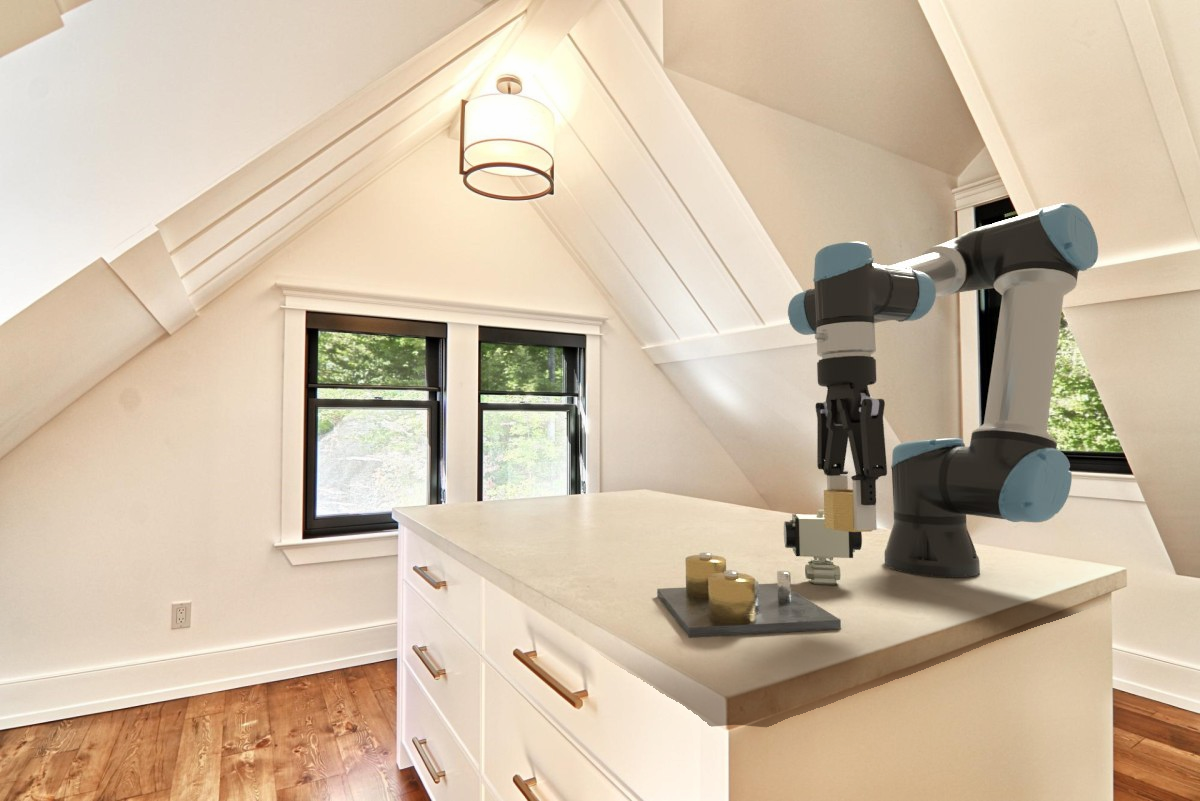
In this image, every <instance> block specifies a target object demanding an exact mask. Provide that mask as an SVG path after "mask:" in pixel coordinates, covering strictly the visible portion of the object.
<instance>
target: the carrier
mask: <svg viewBox="0 0 1200 801" xmlns="http://www.w3.org/2000/svg"><path fill="white" fill-rule="evenodd" d="M776 573H777V575H776V577H777V578H776V579H777V583H775V582H774V583H759V580H757V579H755V577H754V576H752V575H750V574H746V573H741V572H740V573H739V571H738V570H732V569H729V570H728V569H727V559H726V558H725V557H723V556H719V555H714V554H712V553H710V552H700V553H699V554H695V555H689V556H687V557H685V587H669V588H668V587H665V588H657V591H656V594H657V598H658V600H659V601H660V602H661V603H662V604H663V606H664V607H665V608H666V610H667V611H668V613H669V614H670V615H671V616H672V618H673V619H674V620H675V621H676V622H677V624H678V625H679V626H680V628H681V629H682V630H683V632H684V633H685V634H686V636H688V638H691V639H692V638H704V637H705V638H706V637H707V638H708V637H721V636H722V637H725V636H741V635H742V636H744V635H760V634H778V633H779V634H780V632H781V633H796V632H798V633H799V632H815V631H829V630H830V631H831V630H835V631H836V630H842V625H841V624H842V623H841V622H842V621H841V619H840V618H838V617H837V616H835V615H834V614H832V613H830V612H829V611H827V610H825V609H824V608H822V607H821V606H819V605H818V604H816V603H814V602H813V601H811V600H809V599H808V598H806V597H804V596H803V595H802V594H799V593H797V592H796V591H794V590H793V589H792V584H791V583H792V582H791V572H790V571H788V570H778V571H777V572H776Z"/></svg>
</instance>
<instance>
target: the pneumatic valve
mask: <svg viewBox="0 0 1200 801" xmlns="http://www.w3.org/2000/svg"><path fill="white" fill-rule="evenodd" d="M783 522H784V523H783V540H784V547H785V548H786V549H792V552H793V554H794V555H795V557H803V558H806V557H807V558H808V557H809V558H812V557H813V559H811V560H808V561H807V563H806V564H805V567H804V573H805V578H806V579H807V580H810V583H811V584H813V585H818V586H835V585H837V581H840V580H841V568H840V566H839V565H836V564H835V563H834V558H837V559H839V558H840V559H844V558H845V559H854V553H855V552H856V551H861V549H862V545H863V544H862V543H863V536H862V535H863V534H862V532H849V531H839V530H832V529H829V528H826V527H825V525H824V509H818V510H817V514H798V513H797V514H796V513H794V514H793V513H792V514H791V519H790V520H789V521H785V520H784V521H783ZM827 559H828V560H827Z"/></svg>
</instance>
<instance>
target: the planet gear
mask: <svg viewBox="0 0 1200 801" xmlns="http://www.w3.org/2000/svg"><path fill="white" fill-rule="evenodd" d="M823 510H824V525H825V527H826V528H829V529H832V530H839V531H849V532H861V533H862V532H863V533H864V532H865V533H866V532H872V531H874V530H861V531H857V530H854V510H853V488H848V489H827V488H826V489H824V490H823Z"/></svg>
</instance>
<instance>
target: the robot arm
mask: <svg viewBox="0 0 1200 801" xmlns="http://www.w3.org/2000/svg"><path fill="white" fill-rule="evenodd" d="M1098 256H1099V247H1098V239H1097V235H1096V232H1095V229H1094V228H1093V225H1092V223H1091V221H1090V219H1089V217H1088V216H1087V215H1086V214H1085V212H1084V211H1083V210H1082V209H1080V207H1078V206H1077V205H1075V204H1072V203H1060V204H1056V205H1052V206H1049V207H1041V208H1039V209H1038V210H1035V211H1032V212H1028V213H1024V214H1021V215H1018V216H1015V217H1012V218H1011V217H1010V218H1008V219H1004V220H1001V221H997V222H994V223H992V224H986V225H983V226H980V227H977V228H975V229H973V230H970V231H968V232H965V233H964V234H962V235H959V236H957V237H954V238H952V239H950V240H948V241H946V242H943V243H941V244H938V245H935V246H932V247H930V248H928V249H926V250H925V251H923V253H922V254H921V255H920V256H917V257H914V258H910V259H907V260H904V261H900V262H898V263H894V264H891V265H884V264H882V265H881V264H877V263H874V257H873V253H872V248H871V247H870V245H869V244H867V243H866V242H861V241H845V242H837V243H834V244H830V245H827V246H825V247H823V248H821V249H819V251H817V253H816V254H815V257H814V268H813V270H814V273H813V279H812V280H813V283H814V284H813V285H814V288H810V289H806V290H804V291H801V292H800V293H797V294H795V295H794V296H793V297H792V298H791V300H790V301H789V303H788V306H787V315H788V320H789V324H790V325H791V327H792V328H793V330H794V331H796V333H798V334H800V335H804V336H805V335H806V336H810V335H814V338H815V340H816V351H817V352H816V353H817V355H818V357H821V359H819V360H818V362H816V373H817V374H816V375H817V376H816V377H817V384H818V386H820V387H822V388H823V387H825V388H827V390H826V397H825V401H824V402H816V403H815V407H814V408H815V412H816V418H817V419H816V421H817V423H816V424H817V428H816V429H817V432H816V433H817V439H816V440H817V441H816V443H817V444H816V445H817V446H816V447H817V449H816V450H817V452H816V453H817V456H816V457H817V458H816V459H817V461H816V462H817V465H816V466H817V469H818V470H822V471H823V474H824V475H825V476H826V490H827V489H849V486H848V481H849V480H848V474H849V471H848V470H847V469H845V464H846V463H845V462H846V456H847V449H848V443H849V447H850V452H851V456H852V462H853V466H854V467H853V468H854V470H855V471H854V472H855V475H852V476H851V477H850V478H851V481H852V489H853V510H854V530H857V531H861V530H873V531H877V530H878V529H877V526H878V525H877V507H876V506H877V505H876V504H877V488H876V486H877V485H876V484H877V481H878V479H879V478H880V477H886V476H887V474H888V464H887V454H886V452H887V451H886V440H885V427H884V426H885V425H884V412H885V405H886V403H885V399H884V398H872V397H871V393H870V391H869V387H868V386H872V385H874V384H876V383H877V360H876V358H875V357H874V356H872V355H873V354H874V353H875V352H876V350H877V349H876V329H875V328H876V327H875V326H876V325H875V324H876V323H881V322H887V321H896V322H897V321H898V322H899V323H901V322H910V321H911V322H913V321H917V320H920V319H922V318H924V316H926V315H927V314H928V313H929V312H930V311H931V310H932V308H933V306H934V304H935V302H936V298H937V297H939V298H940V297H947V296H950V295H954V294H958V293H965V292H972V291H980V290H987V289H995V291H996V292H998V294H1000V295H1001V303H1000V309H999V317H998V322H997V323H998V324H997V330H996V336H995V337H996V338H995V344H994V352H993V358H992V364H991V372H990V377H989V385H988V392H987V399H986V407H985V414H984V420H983V424H982V425H980V426H979V427H978V428H976V429H974V430H973V431H972V433H971V436H970V442H969V446H966V443H964V440H963V439H962V438H954V437H953V438H939V439H937V438H936V439H929V440H928V439H927V440H917V441H910V442H903V443H902V442H901V443H899V444H897V445H895V447H894V448H893V449H892V455H891V456H892V458H891V459H892V460H891V465H890V469H891V482H892V483H891V484H892V486H891V487H892V504H893V509H892V510H893V524H892V528H891V531H890V533H889V538H888V541H887V544H886V547H885V550H884V554H883V555H884V565H885V566H886V567H888V568H890V569H893V570H897V571H899V572H904V573H907V574H913V575H917V576H918V575H919V576H925V577H926V576H929V577H936V578H937V577H939V578H967V577H974V576H977V575H979V574H980V572H981V565H980V564H981V563H980V558H979V556H978V555H977V551H976V548H975V545H974V543H973V540H972V538H971V535H970V532H969V530H968V527H967V515H968V516H975V517H976V516H977V517H984V518H991V519H992V518H993V519H999V520H1006V521H1008V522H1013V523H1020V522H1023V523H1025V522H1027V523H1043V522H1046V521H1049V520H1051V519H1053V518H1054V517H1055V516H1056V514H1059V512H1060V511H1061V510H1062V509H1063V507H1064V505H1065V503H1066V502H1067V499H1068V497H1069V495H1070V491H1071V487H1072V474H1073V473H1072V471H1071V470H1070V468H1071V464H1070V461H1069V459H1068V457H1067V456H1066V454H1064V452H1062V451H1060V450H1059V449H1057V447H1058V441H1057V440H1056V439H1055V438H1054V437H1053V436H1052V435H1051V434H1050V433H1049V432H1048V425H1049V418H1050V417H1049V416H1050V406H1051V400H1052V392H1053V385H1054V384H1053V383H1054V376H1055V374H1054V373H1055V367H1056V361H1057V360H1056V359H1057V353H1058V343H1059V336H1060V328H1061V318H1062V310H1063V305H1064V297H1065V295H1068V294H1069V293H1070V292H1072V291H1073V290H1074V289H1076V286H1077V283H1078V276H1079V272H1080V271H1081V272H1085V271H1087V270H1089V269H1091V268H1092V267H1093V266H1094V265H1096V264H1095V263H1096V262H1097V260H1098ZM848 441H849V442H848Z"/></svg>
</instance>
